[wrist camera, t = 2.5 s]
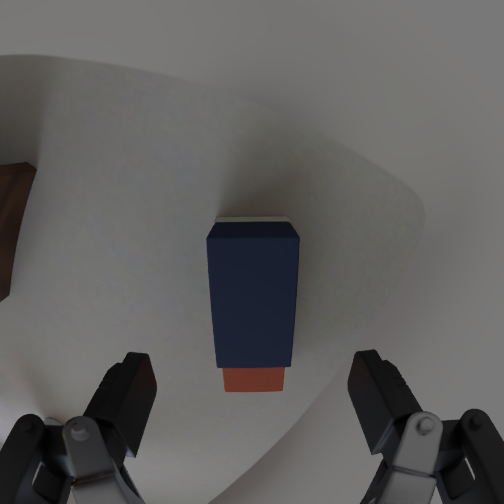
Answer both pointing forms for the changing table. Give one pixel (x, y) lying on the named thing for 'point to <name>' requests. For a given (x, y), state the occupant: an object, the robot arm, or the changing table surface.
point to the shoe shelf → (12, 215)
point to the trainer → (253, 299)
